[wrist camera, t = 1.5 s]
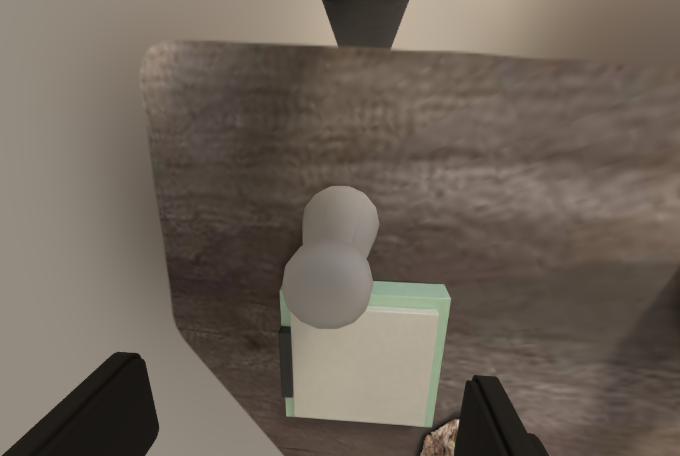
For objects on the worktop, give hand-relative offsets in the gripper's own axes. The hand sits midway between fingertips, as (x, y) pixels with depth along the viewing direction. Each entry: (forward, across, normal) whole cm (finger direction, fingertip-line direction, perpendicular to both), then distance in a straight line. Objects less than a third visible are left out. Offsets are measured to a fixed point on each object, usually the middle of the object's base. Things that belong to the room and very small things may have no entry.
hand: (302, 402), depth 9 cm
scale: (+18, -2, +12) cm, 22 cm away
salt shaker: (+18, 0, -1) cm, 18 cm away
